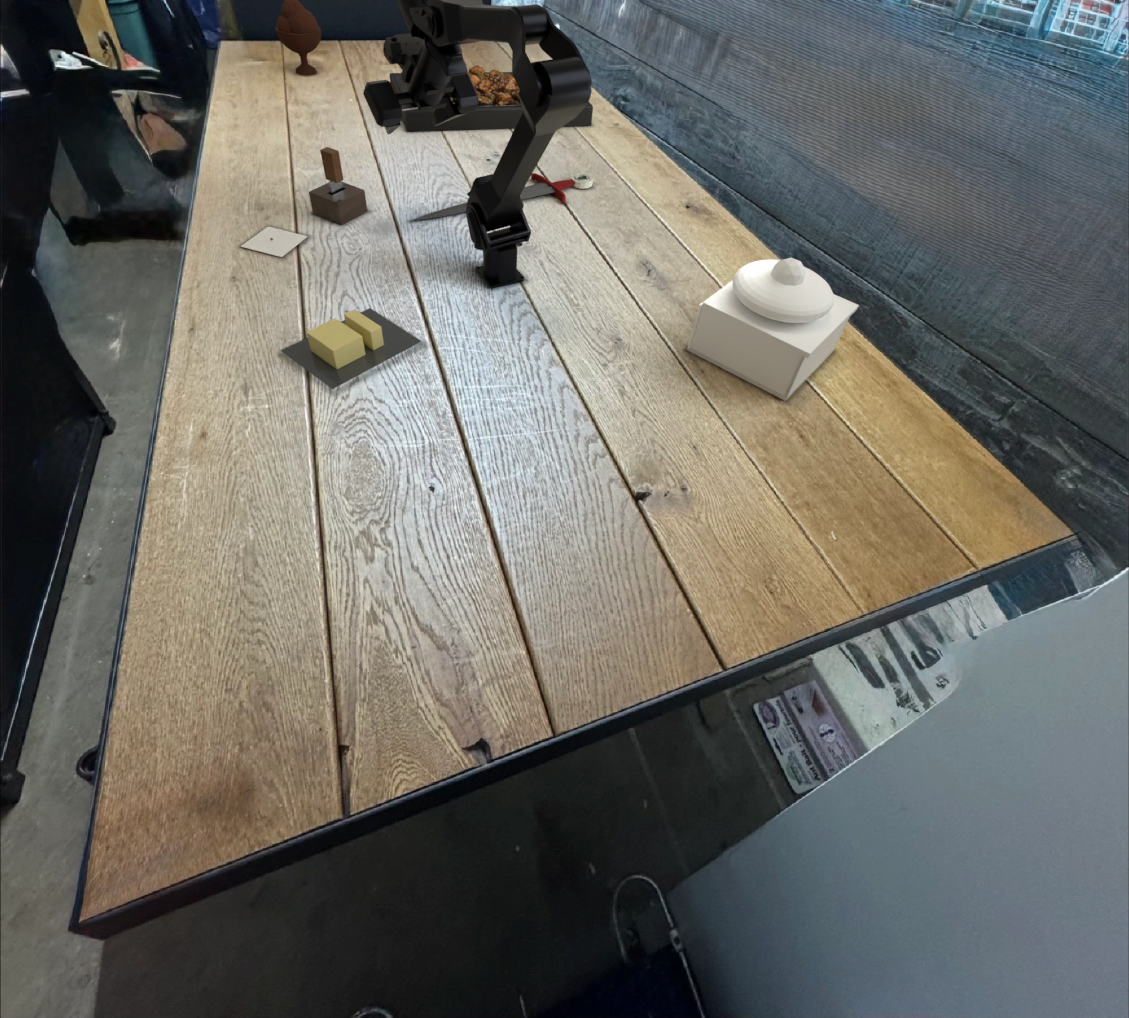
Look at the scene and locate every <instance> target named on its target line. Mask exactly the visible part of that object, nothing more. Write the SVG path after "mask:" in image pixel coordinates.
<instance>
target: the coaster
mask: <svg viewBox="0 0 1129 1018" xmlns="http://www.w3.org/2000/svg"><path fill="white" fill-rule="evenodd" d="M308 237H309V236H308V235H305V234H300V233H296V232H292V231H289V230H284V229H280V228H277V227H272V226H267V227H265V228H264V229H262V230H261V231H260V232H258V233H257V234H256V235H254V236H252V238H250V239H249V240H247V241H246V242H244V243H243V244H242V245H240V247H241V248H245V249H249V250H253V251H255V252H260V253H264V254H268V255H272V256H276V257H279V258H283V257H284V256H285V255H287V254H288V253H289V252H290V251H292V250H293V249H294V248H295V247H297V246H298V245H299V244H301V243H302V242H303V241H304V240H306V239H307V238H308Z"/></svg>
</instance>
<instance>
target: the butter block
mask: <svg viewBox="0 0 1129 1018" xmlns="http://www.w3.org/2000/svg"><path fill="white" fill-rule="evenodd" d="M305 333H306V338H308V341H309V345H310V349H311V351H312V352H314V353H315V354H316V355H318V356H319V357H320V358H322V359H323V360H325V361H326V362H327V363H329V364H330V365H332V366H333V367H334V368H336V369H339V368H341V367H343V366H345V365H347V364H348V363H350V362H352V361H354V360H356V359H358V358H360V357H362V356H364V355H365V349H364V343H363V338H362V336H361V335H360V334H358V333H357V332H355V331H354V330H352V329H351V328H349V327H348V326H346V325H345V324H343V323H342V322H341V320H339V319H337V318H333V319H331V320H328V321H326V322H324V323H322V324H320V325H317V326H316V327H314V328H312V329H309V330H308V331H306V332H305Z"/></svg>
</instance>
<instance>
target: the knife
mask: <svg viewBox="0 0 1129 1018" xmlns="http://www.w3.org/2000/svg"><path fill="white" fill-rule="evenodd" d="M319 151H320V156H321V161H322V166H323V172H324V177H325V180H327V181H328V183H329V188H330V193H331V195H334V194H336V193H338V192H340V191H342V190H343V187H342V182H343V181H344V173H343V169H342V162H341V157H340V151H339V150H338V149H335V148H332V147H329V146H326V147H324V148H321V149H320V150H319Z"/></svg>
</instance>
